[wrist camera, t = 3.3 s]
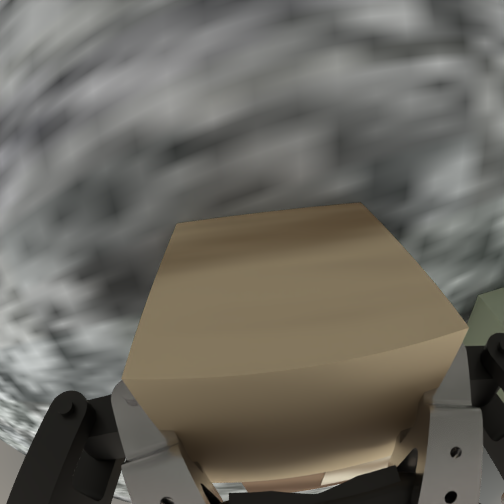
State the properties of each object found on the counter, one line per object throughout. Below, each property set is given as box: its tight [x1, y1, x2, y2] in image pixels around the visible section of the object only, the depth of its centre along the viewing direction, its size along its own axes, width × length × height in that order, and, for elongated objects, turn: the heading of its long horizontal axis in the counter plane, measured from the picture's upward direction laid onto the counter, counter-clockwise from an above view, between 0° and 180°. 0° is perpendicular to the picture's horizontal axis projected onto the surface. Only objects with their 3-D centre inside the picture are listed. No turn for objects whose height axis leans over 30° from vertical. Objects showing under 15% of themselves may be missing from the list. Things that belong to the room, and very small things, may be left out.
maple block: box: [122, 203, 469, 483], centre depth 8 cm, size 6×6×6 cm
